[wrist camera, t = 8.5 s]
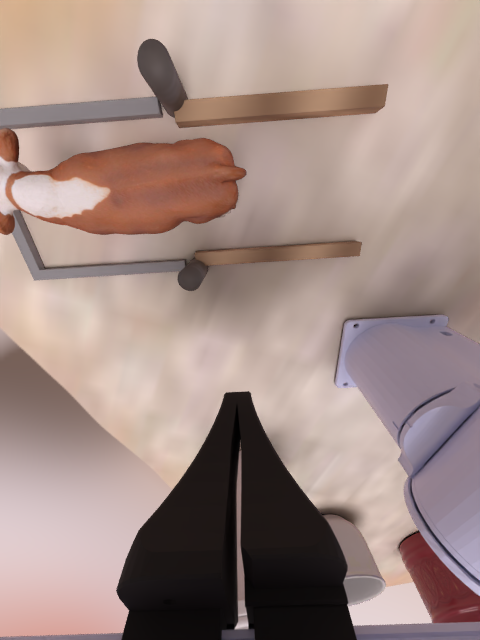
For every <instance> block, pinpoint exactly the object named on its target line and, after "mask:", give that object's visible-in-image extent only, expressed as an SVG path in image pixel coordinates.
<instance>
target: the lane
mask: <svg viewBox="0 0 480 640" xmlns="http://www.w3.org/2000/svg"><path fill="white" fill-rule="evenodd" d="M160 117H163V116H162V110H161V104H160V101H159V99H158V98H157V97H146V98H133V99H120V100H107V101H94V102H82V103H69V104H56V105H43V106H30V107H18V108H5V109H0V130H1V129H3V128H9V129H16V128H29V127H42V126H55V125H68V124H81V123H94V122H108V121H121V120H134V119H147V118H160ZM13 216H14V218H15V228H14V230H13V232H12V234H13V236H14V238H15V240H16V242H17V245H18V247H19V249H20V251H21V253H22V255H23V257H24V260H25V262H26V264H27V266H28V268H29V270H30V272H31V274H32V277H33V279H34V280H48V279H64V278H80V277H96V276H112V275H128V274H143V273H159V272H175V271H181V270H182V269H183V268H184V267H185V266H186V265H187V264H186V260H173V261H157V262H142V263H126V264H110V265H95V266H79V267H63V268H48V269H45V267H44V265H43V263H42V260H41V258H40V256H39V254H38V251H37V249H36V247H35V244H34V242H33V240H32V238H31V235H30V233H29V231H28V228H27V226H26V224H25V222H24V219H23V217H22V215H21V212H20V210H14V211H13Z"/></svg>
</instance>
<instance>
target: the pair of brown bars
mask: <svg viewBox="0 0 480 640" xmlns="http://www.w3.org/2000/svg"><path fill="white" fill-rule="evenodd" d="M137 61H138V67H139V70H140V72H141V74H142V76H143V78H144V79H145V80H146V82H147V83H148V85H149V86H150V88H151V89H152V91H153V92H154V94H155V95H156V97H157V98H158V99H159V101H160V102H161V104H162V105H163V107H164V108H165V110H166V111H167V113H168V114H169V115H170V116H172V117H174V118H175V122H176V123H177V125H178V126H179V128H183V127H196V126H210V125H223V124H236V123H249V122H263V121H276V120H289V119H303V118H316V117H329V116H342V115H356V114H369V113H376V112H378V111H379V110H380V109H382V108H383V107H384V106H385V101H386V95H387V89H388V84H383V85H371V86H358V87H345V88H332V89H319V90H306V91H293V92H280V93H268V94H255V95H242V96H229V97H216V98H203V99H190V100H188V98H187V95H186V93H185V90H184V88H183V86H182V83H181V81H180V79H179V76H178V74H177V72H176V69H175V67H174V65H173V62H172V60H171V58H170V55H169V53H168V51H167V49H166V48H165V46H164V45H163V44H162V43H161V42H159V41H158V40H155V39H148V40H146V41H144V42H143V43H142V44H141V46H140V48H139V50H138V56H137ZM361 245H362V243H361V242H357V241H352V242H336V243H321V244H305V245H290V246H274V247H259V248H243V249H228V250H212V251H197V252H196V253H195V258H194V259H193V260H192V261H191V262H190V263H188V264H187V265H186V266H185V267H184V268H183V269H182V270H181V271H180V272H179V274H178V282H179V285H180V286H181V287H182V288H183V289H185V290H188V291H193V290H196V289H197V288H198V287H199V286H200V284H201V283H202V281H203V279H204V277H205V275H206V274H207V272H208V265H223V264H239V263H255V262H271V261H287V260H303V259H318V258H334V257H350V256H360V251H361Z"/></svg>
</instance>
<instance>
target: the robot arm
mask: <svg viewBox="0 0 480 640" xmlns="http://www.w3.org/2000/svg"><path fill="white" fill-rule="evenodd" d="M430 320H432V321H430ZM448 320H449V318H448V317H447V316H445V315H426V316H409V317H392V318H374V319H357V320H348V321H346V322H345V324H344V328H343V334H342V341H341V347H340V353H339V360H338V366H337V372H336V379H335V385H336V386H337V387H338V388H347V387H358V389H359V390H360V391H361V393H362V394H363V396H364V397H365V399H366V400H367V401H368V403H369V404H370V406H371V407H372V409H373V410H374V412H375V413H376V414H377V416H378V417H379V419H380V420H381V422H382V423H383V424H384V426H385V427H386V429H387V430H388V432H389V433H390V434H391V436H392V437H393V439H394V440H395V442H396V443H397V444H398V446H399V447H400V449H401V455H400V457H399V458H398V461H399V462H400V464H401V465H402V467H403V468H404V470H405V472H406V473H407V475H408V476H409V477H408V478H407V479H406V481H405V484H404V497H405V502H406V505H407V508H408V511H409V513H410V515H411V517H412V519H413V521H414V523H415V525H416V526H417V528H418V530H419V531H420V533H421V535H422V536H423V538H424V539H425V540H426V542H427V543H428V545H429V546H430V547H431V549H432V550H433V551H434V552H435V554H436V555H437V556H438V557H439V559H440V560H441V561H442V562H443V563H444V564H445V565H446V566H447V567H448V568H449V569H450V570H451V572H453V573H454V574H455V575H456V576H457V577H458V578H459V579H460V580H461V581H462V582H463V583H464V584H465V585H467V586H468V587H469V588H470V589H471V590H473V591H474V592H475V593H476V594H477V595H479V596H480V344H479V343H477V342H475V341H473V340H471V339H469V338H467V337H465V336H464V335H462V334H460V333H458V332H456V331H454V330H452V329H450V328H448V327H447V323H448ZM355 324H357V325H356V326H354V325H355ZM345 382H346V383H345ZM344 383H345V384H344ZM240 441H241V539H240V545H241V553H242V561H243V568H244V587H245V608H246V612H247V619H248V629H237V630H234V629H235V627H236V625H237V623H238V577H237V477H238V463H239V448H240ZM347 571H348V565H347V562H346V559H345V556H344V554H343V551H342V549H341V547H340V544H339V542H338V540H337V538H336V536H335V534H334V532H333V530H332V528H331V526H330V524H329V523H328V521H327V520H326V519H325V518H324V516H323V515H322V514H321V513H320V512H319V511H318V509H317V508H316V507H315V506H314V505H313V503H312V502H311V501H310V500H309V498H308V497H307V496H306V495H305V493H304V492H303V491H302V489H301V488H300V487H299V485H298V484H297V483H296V481H295V480H294V478H293V477H292V476H291V474H290V473H289V471H288V470H287V469H286V467H285V466H284V464H283V463H282V461H281V459H280V458H279V456H278V455H277V453H276V451H275V450H274V448H273V446H272V444H271V443H270V441H269V439H268V437H267V435H266V433H265V431H264V429H263V427H262V425H261V423H260V420H259V418H258V416H257V413H256V411H255V408H254V405H253V402H252V398H251V393H250V392H249V391H248V392H229V393H225V394H224V398H223V402H222V405H221V407H220V410H219V413H218V415H217V417H216V419H215V422H214V424H213V426H212V428H211V430H210V432H209V434H208V436H207V438H206V440H205V442H204V444H203V445H202V447H201V449H200V451H199V452H198V454H197V456H196V457H195V459H194V460H193V462H192V463H191V465H190V466H189V468H188V469H187V471H186V472H185V474H184V475H183V477H182V478H181V480H180V481H179V482H178V484H177V485H176V486H175V487H174V489H173V490H172V491H171V493H170V494H169V495H168V497H167V498H166V499H165V500H164V502H163V503H162V504H161V505H160V507H159V508H158V509H157V510H156V511H155V512H154V513H153V515H152V516H151V517H150V518H149V519H148V520H147V522H146V523H145V524H144V525H143V526H142V527H141V528H140V530H139V531H138V533H137V535H136V538H135V540H134V542H133V544H132V546H131V549H130V551H129V553H128V556H127V558H126V561H125V564H124V567H123V571H122V574H121V577H120V580H119V583H118V586H117V590H116V591H117V594H118V596H119V599H120V600H121V601H122V602H123V603H124V605H125V606H126V607H127V608H128V610H129V614H128V617H127V621H126V625H125V628H124V632H123V633H111V634H79V635H51V636H50V635H48V636H16V637H0V640H480V622H459V623H429V624H396V625H364V626H353V624H352V620H351V617H350V613H349V610H348V606H347V604H348V598H347V595H346V591H345V588H344V584H343V582H344V579H345V576H346V574H347Z"/></svg>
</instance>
